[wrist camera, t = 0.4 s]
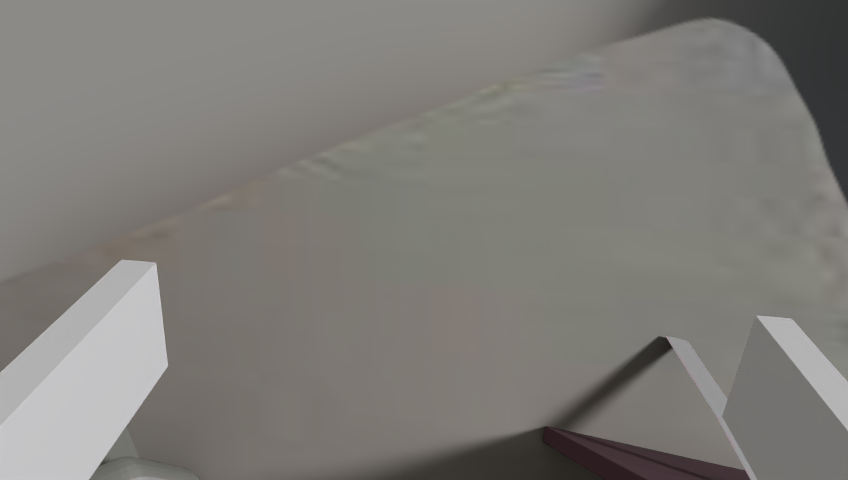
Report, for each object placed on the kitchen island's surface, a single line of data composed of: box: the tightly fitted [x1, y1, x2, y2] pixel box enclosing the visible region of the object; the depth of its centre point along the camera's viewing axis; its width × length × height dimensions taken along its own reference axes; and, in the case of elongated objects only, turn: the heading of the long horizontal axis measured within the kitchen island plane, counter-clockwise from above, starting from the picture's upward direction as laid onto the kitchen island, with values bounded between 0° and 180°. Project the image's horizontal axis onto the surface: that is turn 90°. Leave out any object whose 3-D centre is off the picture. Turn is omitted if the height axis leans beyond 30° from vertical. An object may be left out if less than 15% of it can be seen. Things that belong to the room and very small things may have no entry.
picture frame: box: [543, 335, 757, 480], centre depth 37 cm, size 17×10×25 cm, turn 77°
